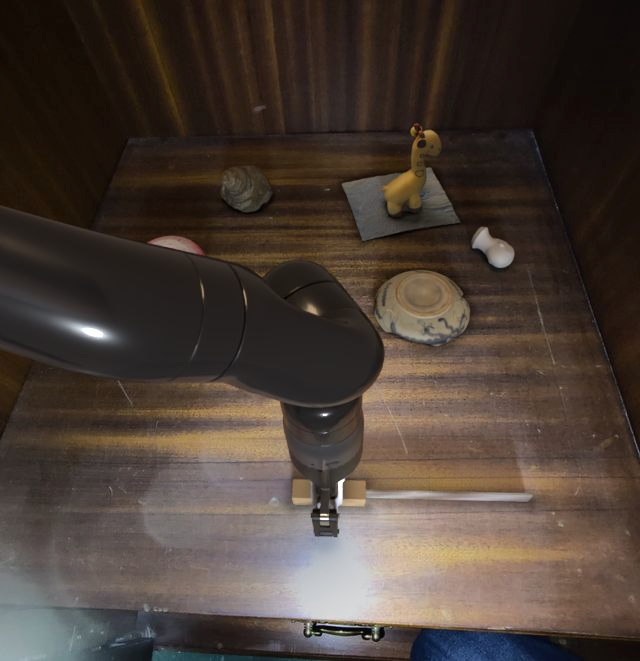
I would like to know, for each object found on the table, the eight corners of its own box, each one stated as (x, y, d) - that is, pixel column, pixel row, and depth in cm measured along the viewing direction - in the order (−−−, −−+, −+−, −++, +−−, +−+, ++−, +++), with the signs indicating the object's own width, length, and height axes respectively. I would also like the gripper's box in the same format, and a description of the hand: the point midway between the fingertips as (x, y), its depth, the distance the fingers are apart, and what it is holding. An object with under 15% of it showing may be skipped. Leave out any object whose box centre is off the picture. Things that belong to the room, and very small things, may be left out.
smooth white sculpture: (513, 271, 87) (492, 275, 84) (484, 240, 91) (463, 244, 89) (527, 251, 84) (505, 255, 81) (496, 221, 88) (474, 224, 85)
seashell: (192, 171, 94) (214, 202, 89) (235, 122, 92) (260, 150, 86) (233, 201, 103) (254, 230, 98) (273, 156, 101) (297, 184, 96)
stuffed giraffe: (460, 223, 92) (474, 143, 79) (362, 243, 91) (361, 166, 78) (430, 170, 102) (439, 92, 89) (341, 188, 101) (337, 111, 88)
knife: (293, 504, 65) (291, 498, 63) (294, 485, 66) (292, 478, 64) (529, 510, 63) (535, 503, 61) (525, 490, 64) (531, 483, 62)
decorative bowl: (356, 294, 84) (407, 362, 76) (356, 279, 81) (409, 348, 73) (433, 261, 88) (489, 323, 80) (436, 245, 85) (495, 308, 77)
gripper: (290, 365, 54) (302, 430, 67) (278, 504, 45) (294, 546, 59) (363, 366, 53) (360, 431, 66) (364, 506, 45) (361, 549, 58)
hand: (329, 485), depth 63 cm, fingers open, 8 cm apart
